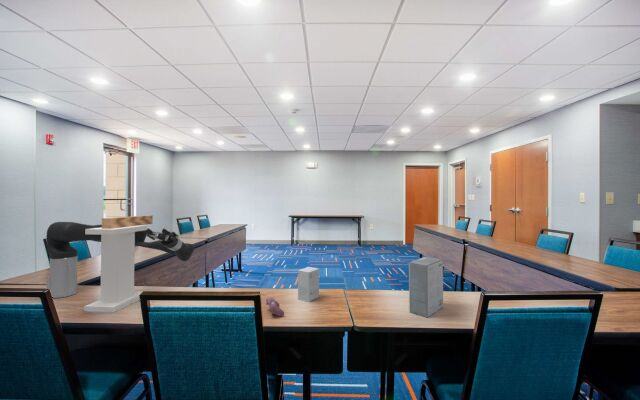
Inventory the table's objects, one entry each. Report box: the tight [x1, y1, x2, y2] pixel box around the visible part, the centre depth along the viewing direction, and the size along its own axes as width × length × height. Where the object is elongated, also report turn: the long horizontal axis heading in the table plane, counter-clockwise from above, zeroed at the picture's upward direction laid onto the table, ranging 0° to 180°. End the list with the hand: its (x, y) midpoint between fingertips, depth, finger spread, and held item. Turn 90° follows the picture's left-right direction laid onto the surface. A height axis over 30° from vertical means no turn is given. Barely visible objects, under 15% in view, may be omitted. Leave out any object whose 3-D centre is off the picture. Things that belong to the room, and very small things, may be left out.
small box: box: [297, 266, 320, 303], centre depth 121 cm, size 8×6×13 cm
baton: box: [101, 215, 154, 229], centre depth 120 cm, size 24×4×4 cm, turn 176°
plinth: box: [83, 224, 148, 313], centre depth 113 cm, size 18×12×32 cm, turn 176°
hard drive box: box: [408, 256, 444, 318], centre depth 109 cm, size 16×8×20 cm, turn 134°
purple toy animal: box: [265, 296, 285, 317], centre depth 105 cm, size 10×5×7 cm, turn 21°
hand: (154, 230), depth 136 cm, fingers open, 8 cm apart
